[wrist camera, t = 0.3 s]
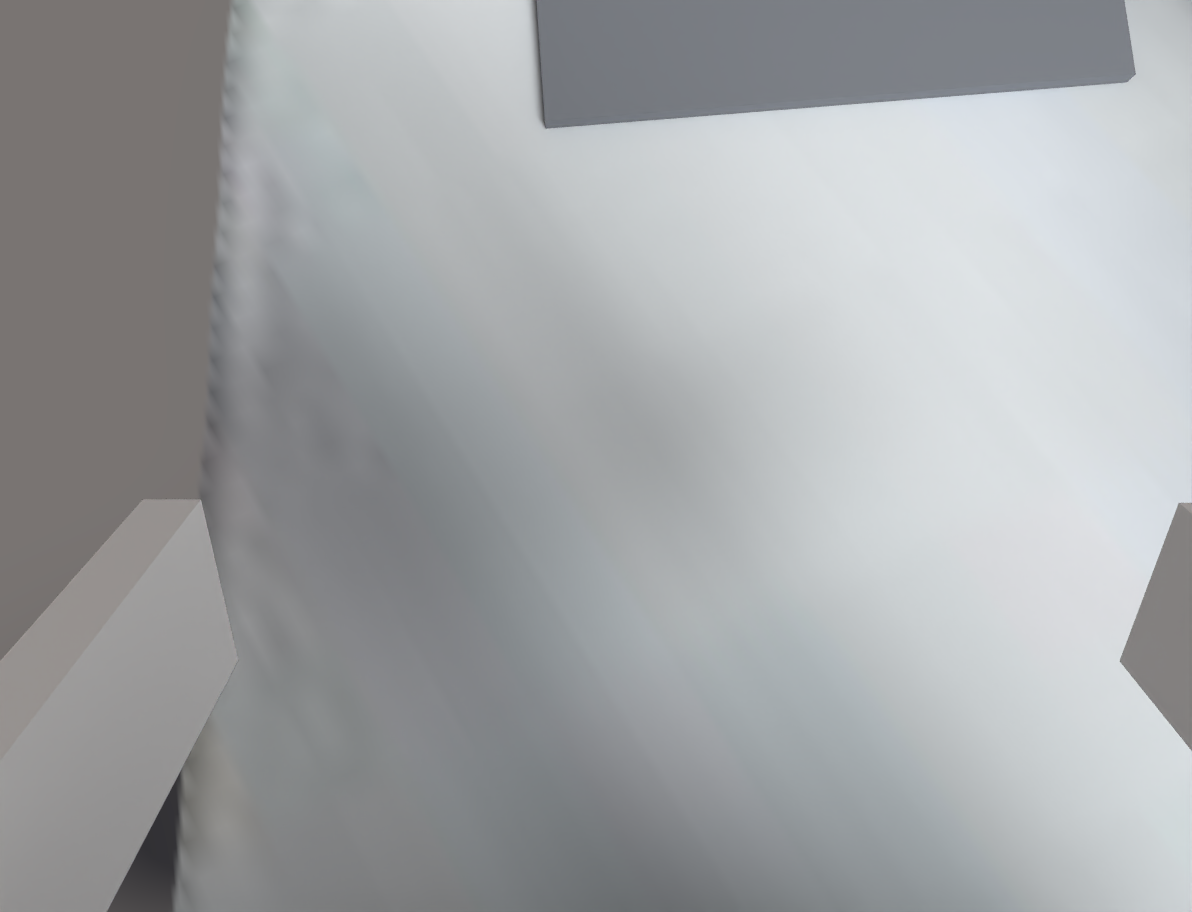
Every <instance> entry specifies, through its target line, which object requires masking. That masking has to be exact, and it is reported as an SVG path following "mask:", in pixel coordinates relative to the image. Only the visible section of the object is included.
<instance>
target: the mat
mask: <svg viewBox="0 0 1192 912" xmlns="http://www.w3.org/2000/svg"><path fill="white" fill-rule="evenodd" d="M536 1H537V15H538V30H539V44H540V59H541V74H542V88H543V103H544V117H545V126H546V128H557V127H569V126H582V125H594V124H607V123H620V122H632V121H645V120H657V119H670V118H682V117H695V116H708V115H720V114H733V113H745V112H758V111H770V110H783V109H796V108H808V107H821V106H833V105H846V104H858V103H871V102H884V101H896V100H909V99H921V98H934V97H946V96H959V95H972V94H984V93H997V92H1009V91H1022V90H1034V89H1047V88H1060V87H1072V86H1085V85H1097V84H1110V83H1122V82H1128V81H1129V80H1130V79H1131V78H1132V77H1133V76H1134V75H1135V74H1136V73H1135V67H1134V60H1133V54H1132V47H1131V41H1130V34H1129V28H1128V21H1127V15H1126V8H1125V2H1124V0H536Z"/></svg>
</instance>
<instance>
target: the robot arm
mask: <svg viewBox="0 0 1192 912" xmlns="http://www.w3.org/2000/svg"><path fill="white" fill-rule="evenodd" d="M237 662H238V656H237V652H236V647H235V643H234V639H233V634H232V630H231V626H230V622H229V617H228V613H227V609H226V604H225V600H224V596H223V592H222V587H221V583H220V579H219V574H218V570H217V566H216V562H215V557H214V553H213V549H212V544H211V540H210V536H209V532H208V527H207V523H206V519H205V514H204V510H203V506H202V501H201V499H143V500H142V501H141V502H140V503H139V504H138V505H137V507H136V508H135V509H134V510H133V511H132V512H131V513H130V514H129V516H128V517H127V518H126V519H125V520H124V521H123V523H121V525H120V526H119V527H118V528H117V529H116V530H115V531H114V533H113V534H112V535H111V536H110V537H109V538H108V539H107V540H106V542H105V543H104V544H103V545H102V546H101V547H100V548H99V550H98V551H97V552H96V553H95V554H94V555H93V556H92V558H91V559H90V560H89V561H88V562H87V563H86V564H85V565H84V567H83V568H82V569H81V570H80V571H79V572H78V573H77V574H76V576H75V577H74V578H73V579H72V580H71V581H70V582H69V583H68V585H67V586H66V587H65V588H64V589H63V590H62V592H61V593H60V594H59V595H58V596H57V597H56V598H55V600H54V601H53V602H52V603H51V604H50V605H49V606H48V607H47V609H46V610H45V611H44V612H43V613H42V614H41V615H40V616H39V617H38V619H37V620H36V621H35V622H34V623H33V624H32V626H31V627H30V628H29V629H28V630H27V631H26V632H25V633H24V634H23V636H22V637H21V638H20V639H19V640H18V641H17V642H16V644H15V645H14V646H13V647H12V648H11V649H10V650H9V652H8V653H7V654H6V655H5V656H4V657H3V658H2V659H1V661H0V912H107V910H108V908H109V906H110V904H111V903H112V901H113V899H114V897H115V895H116V893H117V891H118V889H119V887H120V885H121V883H122V882H123V879H124V878H125V876H126V874H127V872H128V870H129V868H130V866H131V864H132V863H133V861H134V859H135V857H136V855H137V853H138V851H139V849H140V847H141V845H142V843H143V842H144V839H145V838H146V836H147V834H148V832H149V830H150V828H151V826H152V824H153V822H154V821H155V819H156V817H157V815H158V813H159V811H160V809H161V807H162V805H163V803H164V801H165V800H166V798H167V796H168V794H169V792H170V790H171V788H172V786H173V784H174V782H175V780H176V779H177V777H178V775H179V773H180V771H181V769H182V767H183V765H184V763H185V761H186V759H187V758H188V756H189V754H190V752H191V750H192V748H193V746H194V744H195V742H196V740H197V738H198V737H199V735H200V733H201V731H202V729H203V727H204V725H205V723H206V721H207V719H208V717H209V716H210V714H211V712H212V710H213V708H214V706H215V704H216V702H217V700H218V698H219V696H220V695H221V693H222V691H223V689H224V687H225V685H226V683H227V681H228V679H229V677H230V675H231V674H232V672H233V670H234V668H235V666H236V664H237ZM1120 662H1121V663H1122V665H1123V666H1124V667H1125V668H1126V670H1127V671H1128V672H1129V673H1130V675H1131V676H1132V677H1133V678H1134V680H1135V681H1136V682H1137V683H1138V685H1139V686H1140V687H1141V688H1142V690H1143V691H1144V692H1145V693H1146V695H1147V696H1148V697H1149V698H1150V699H1151V701H1152V702H1153V703H1154V704H1155V706H1156V707H1157V708H1158V709H1159V711H1160V712H1161V713H1162V714H1163V716H1164V717H1165V718H1166V719H1167V721H1168V722H1169V723H1170V724H1171V726H1172V727H1173V728H1174V729H1175V731H1176V732H1177V733H1178V734H1179V736H1180V737H1181V738H1182V739H1183V740H1184V742H1185V743H1186V744H1187V745H1188V747H1189V748H1190V749H1191V750H1192V503H1179V504H1178V507H1177V509H1176V512H1175V515H1174V517H1173V520H1172V523H1171V525H1170V528H1169V531H1168V533H1167V536H1166V539H1165V541H1164V544H1163V547H1162V549H1161V552H1160V555H1159V557H1158V560H1157V563H1156V565H1155V568H1154V571H1153V573H1152V576H1151V579H1150V581H1149V584H1148V587H1147V589H1146V592H1145V595H1144V597H1143V600H1142V603H1141V605H1140V608H1139V611H1138V613H1137V616H1136V619H1135V621H1134V624H1133V627H1132V629H1131V632H1130V635H1129V637H1128V640H1127V643H1126V645H1125V648H1124V651H1123V653H1122V656H1121V659H1120Z"/></svg>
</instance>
